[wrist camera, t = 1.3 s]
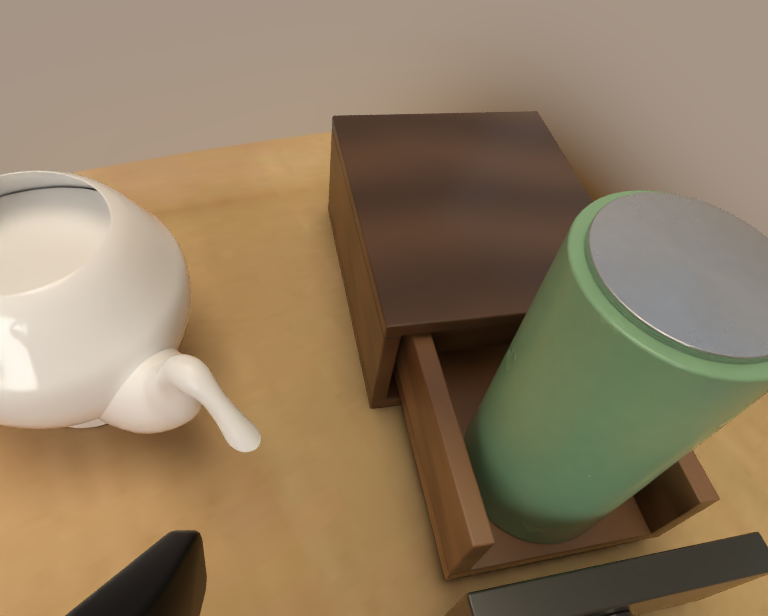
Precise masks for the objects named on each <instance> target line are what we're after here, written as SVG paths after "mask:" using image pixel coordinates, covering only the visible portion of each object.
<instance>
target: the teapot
mask: <svg viewBox="0 0 768 616" xmlns="http://www.w3.org/2000/svg"><path fill="white" fill-rule="evenodd" d="M190 308H191V283H190V276H189V271H188V267H187V263H186V260H185V257H184V254H183V252H182V250H181V247H180V245H179V243H178V242H177V240H176V238H175V237H174V235H173V234H172V233H171V231H170V230H169V229H168V228H167V226H166V225H165V224H164V223H163V222H162V221H161V220H159V219H158V218H157V217H156V216H155V215H154V214H152V213H151V212H149V211H148V210H146V209H145V208H143V207H142V206H140V205H138V204H137V203H135V202H134V201H132V200H131V199H129V198H128V197H126V196H125V195H123V194H121V193H120V192H118V191H116V190H114V189H113V188H111V187H109V186H107V185H105V184H102V183H100V182H98V181H96V180H93V179H90V178H87V177H84V176H81V175H77V174H73V173H67V172H61V171H50V170H30V171H20V172H12V173H7V174H1V175H0V425H3V426H9V427H16V428H27V429H51V428H61V427H73V428H91V427H97V426H101V425H104V424H110V425H112V426H114V427H117V428H120V429H123V430H126V431H129V432H135V433H141V434H151V433H160V432H165V431H169V430H172V429H175V428H178V427H180V426H182V425H184V424H186V423H188V422H189V421H191V420H192V419H194V418H195V417H196V416H197V415H198V413H199V412H200V411H201V409H202V406H204V407H205V408H206V409H207V411H208V412H209V413H210V415H211V416H212V418H213V419H214V421H215V422H216V424H217V426H218V427H219V429H220V431H221V433H222V434H223V436H224V438H225V440H226V441H227V443H228V444H229V445H230V446H231V447H232V448H234V449H236V450H238V451H241V452H250V451H253V450H255V449H256V448H258V446H259V445H260V443H261V435H260V432H259V430H258V429H257V427H256V426H255V425H254V424H253V423H252V422H251V421H250V420H249V419H248V418H247V417H246V416H245V415H244V414H243V413H242V412H241V411H240V410H239V409H238V408H237V407H236V406H235V405H234V404H233V403H232V402H231V401H230V400H229V398H228V397H227V396H226V395H225V393H224V392H223V391H222V389H221V388H220V386H219V385H218V383H217V381H216V380H215V378H214V376H213V374H212V373H211V371H210V370H209V368H208V367H207V365H206V364H205V363H203V362H202V361H201V360H200V359H198V358H196V357H194V356H192V355H188V354H182V353H181V352H179V351H178V348H179V346H180V344H181V342H182V339H183V336H184V334H185V331H186V328H187V324H188V320H189V315H190Z"/></svg>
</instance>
